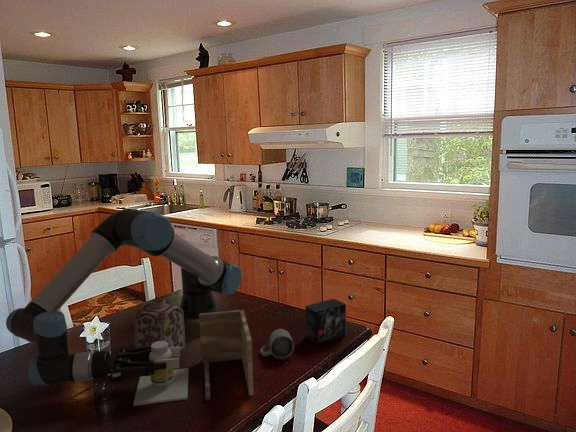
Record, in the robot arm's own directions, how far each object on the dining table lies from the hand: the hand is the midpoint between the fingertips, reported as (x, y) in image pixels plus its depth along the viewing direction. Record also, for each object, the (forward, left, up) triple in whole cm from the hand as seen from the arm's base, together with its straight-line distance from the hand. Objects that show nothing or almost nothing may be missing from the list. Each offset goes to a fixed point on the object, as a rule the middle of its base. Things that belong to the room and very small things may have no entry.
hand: (179, 357), depth 129 cm
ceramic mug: (-12, +30, -9) cm, 34 cm away
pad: (0, -5, -9) cm, 10 cm away
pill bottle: (0, -5, -7) cm, 8 cm away
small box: (-21, +49, -9) cm, 54 cm away
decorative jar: (-22, -7, -9) cm, 25 cm away
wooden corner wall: (-1, +13, -9) cm, 15 cm away
